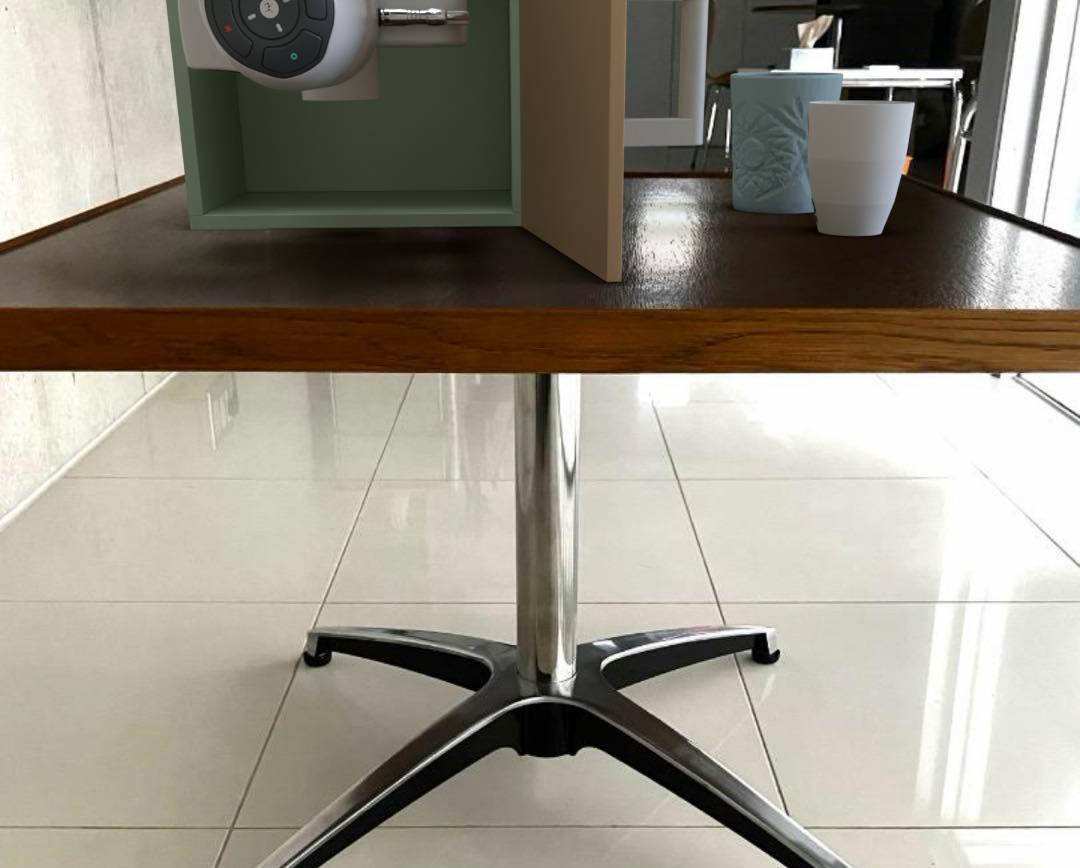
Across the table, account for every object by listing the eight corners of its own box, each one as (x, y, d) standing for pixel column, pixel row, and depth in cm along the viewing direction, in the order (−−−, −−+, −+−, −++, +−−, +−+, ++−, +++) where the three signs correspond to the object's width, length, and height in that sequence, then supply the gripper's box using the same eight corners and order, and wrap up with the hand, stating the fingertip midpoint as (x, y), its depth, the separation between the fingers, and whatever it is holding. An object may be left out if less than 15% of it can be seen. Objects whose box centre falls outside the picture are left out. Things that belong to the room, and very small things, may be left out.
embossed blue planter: (821, 202, 120) (831, 71, 116) (842, 214, 111) (855, 73, 106) (718, 202, 120) (724, 72, 116) (730, 215, 111) (738, 73, 106)
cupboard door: (599, 224, 104) (603, -121, 95) (708, 278, 78) (730, -189, 69) (521, 226, 103) (517, -123, 93) (606, 282, 77) (613, -193, 67)
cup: (848, 223, 105) (858, 99, 101) (922, 233, 99) (937, 102, 95) (778, 230, 101) (787, 102, 97) (852, 241, 95) (864, 104, 91)
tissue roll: (325, 101, 91) (316, -49, 87) (288, 99, 95) (278, -43, 91) (395, 99, 94) (388, -45, 90) (356, 98, 98) (348, -40, 95)
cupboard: (526, 227, 104) (523, -124, 94) (190, 230, 103) (152, -124, 93) (522, 201, 122) (519, -94, 113) (237, 203, 122) (210, -93, 112)
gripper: (468, -36, 80) (472, -23, 92) (152, -36, 79) (201, -23, 92) (470, 67, 82) (474, 66, 95) (163, 69, 81) (210, 67, 94)
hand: (338, 22), depth 93 cm, fingers closed on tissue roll, 6 cm apart
